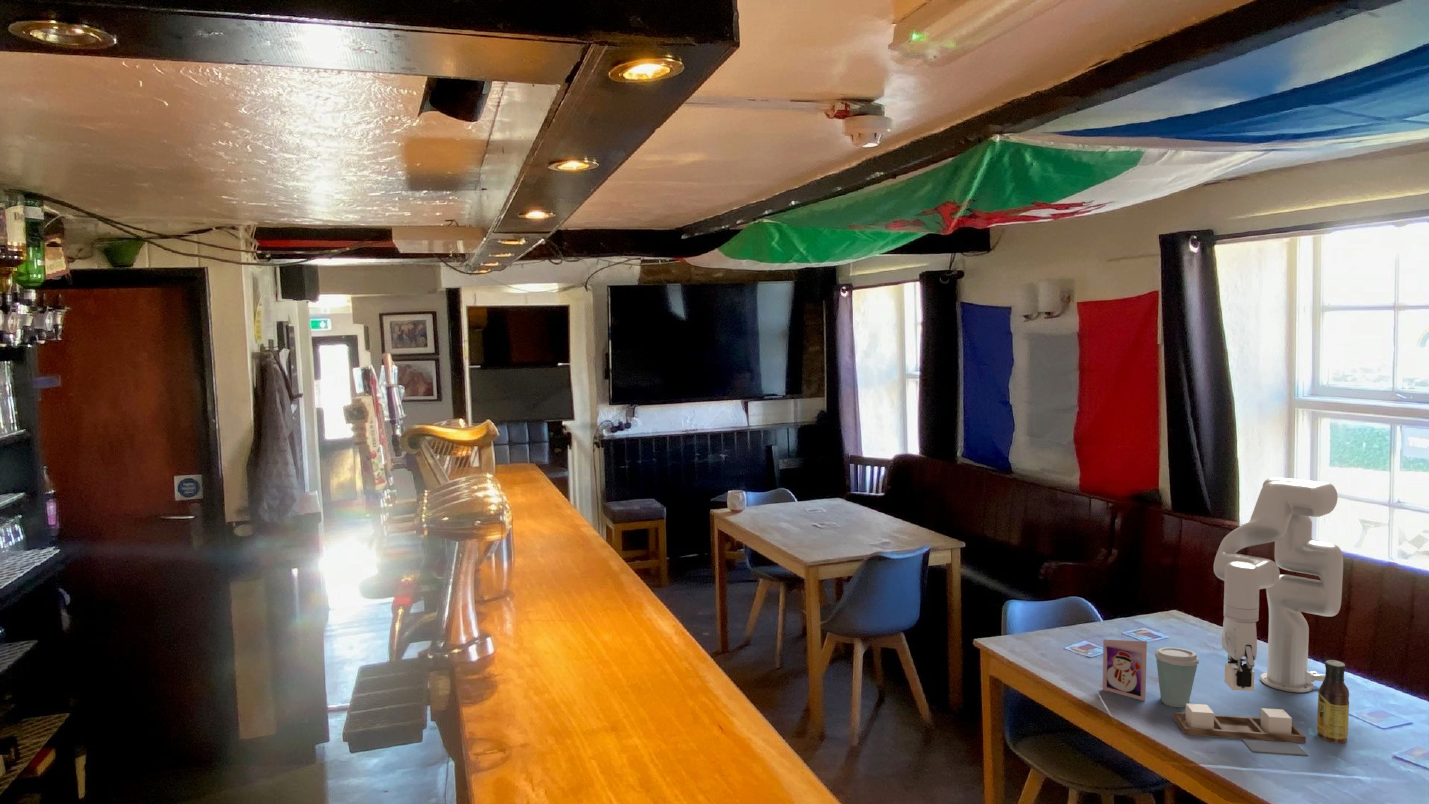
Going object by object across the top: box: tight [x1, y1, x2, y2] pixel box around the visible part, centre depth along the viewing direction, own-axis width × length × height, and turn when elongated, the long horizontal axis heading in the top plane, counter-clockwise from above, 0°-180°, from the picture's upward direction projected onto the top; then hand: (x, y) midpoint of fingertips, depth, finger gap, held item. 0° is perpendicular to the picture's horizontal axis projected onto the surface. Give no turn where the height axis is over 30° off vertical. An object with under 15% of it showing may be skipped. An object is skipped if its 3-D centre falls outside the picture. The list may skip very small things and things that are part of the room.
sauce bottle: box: [1316, 659, 1350, 744], centre depth 213 cm, size 6×6×20 cm
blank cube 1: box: [1185, 703, 1215, 729], centre depth 220 cm, size 5×5×5 cm
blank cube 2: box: [1260, 707, 1293, 734], centre depth 217 cm, size 5×5×5 cm
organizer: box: [1172, 711, 1307, 744], centre depth 219 cm, size 27×10×2 cm, turn 78°
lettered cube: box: [1223, 662, 1255, 692], centre depth 218 cm, size 5×5×5 cm
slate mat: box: [1241, 738, 1309, 757], centre depth 209 cm, size 12×6×1 cm, turn 78°
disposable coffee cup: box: [1154, 646, 1200, 708], centre depth 235 cm, size 11×11×15 cm
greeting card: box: [1102, 639, 1148, 702], centre depth 242 cm, size 11×7×15 cm, turn 45°
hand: (1239, 680), depth 218 cm, fingers closed on lettered cube, 5 cm apart
